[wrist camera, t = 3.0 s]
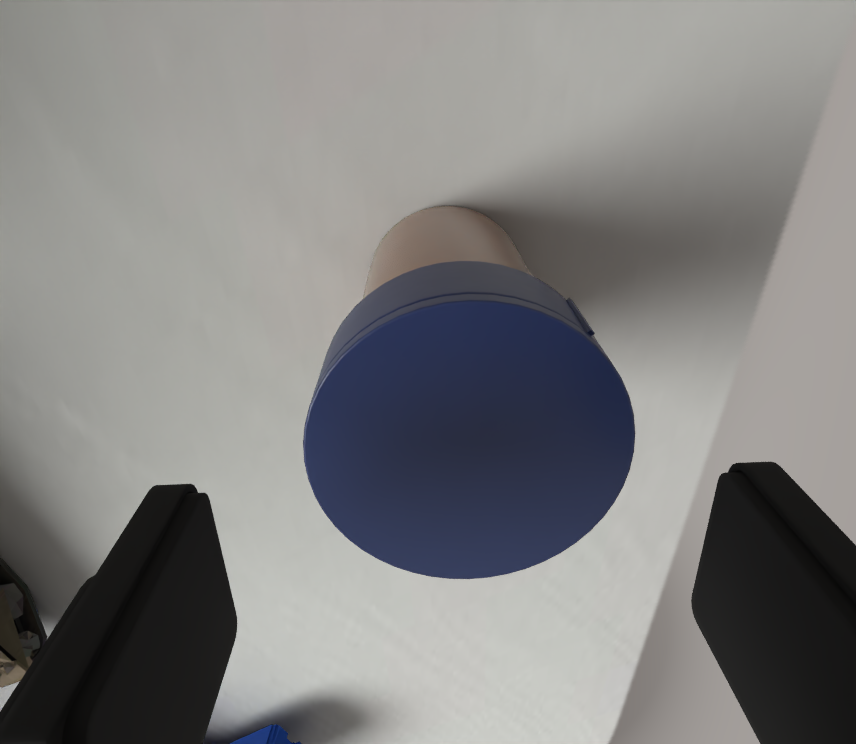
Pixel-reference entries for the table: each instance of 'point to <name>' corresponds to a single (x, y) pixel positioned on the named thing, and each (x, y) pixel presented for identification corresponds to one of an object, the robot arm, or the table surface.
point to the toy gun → (266, 736)
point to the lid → (467, 423)
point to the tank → (17, 628)
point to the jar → (441, 243)
